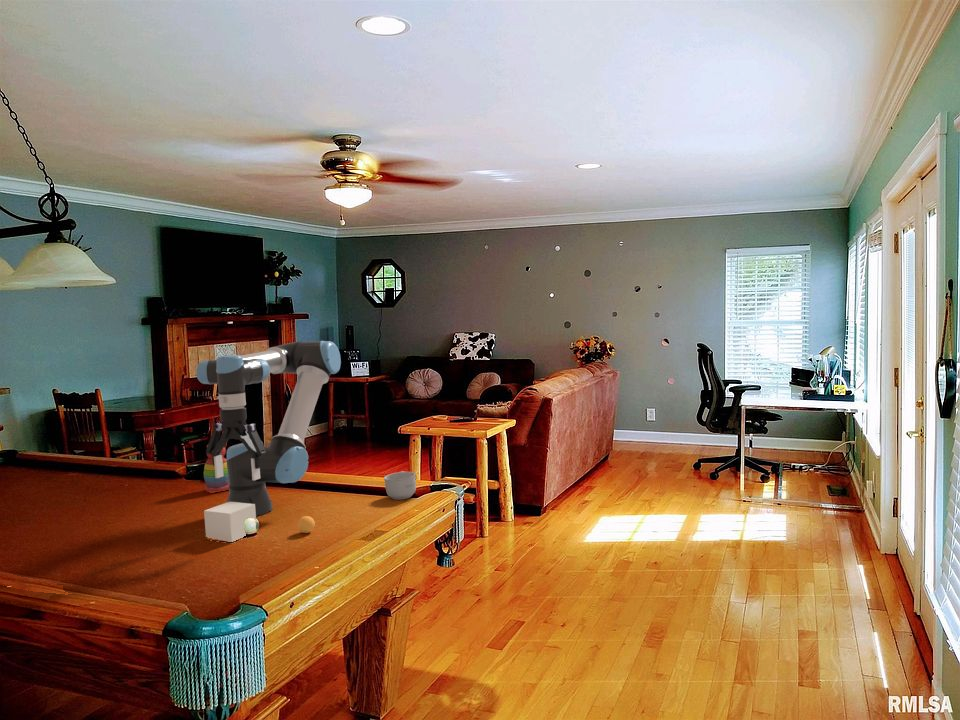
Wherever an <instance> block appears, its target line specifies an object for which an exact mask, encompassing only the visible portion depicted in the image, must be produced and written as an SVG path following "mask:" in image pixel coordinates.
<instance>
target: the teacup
mask: <svg viewBox="0 0 960 720" xmlns="http://www.w3.org/2000/svg"><path fill="white" fill-rule="evenodd" d="M383 480H384V486H385V490H386V491H385V492H386V494H387V496H388V497H390V498H391V499H393V500H397V501H398V500H399V501H402V500H405V499H406V500H407V499H410V498H411V497H412V496H413V495H414V494H415V493H416V490H417V482H416V481H417V480H416V473H415V472H413V471H403V470H402V471H399V472H392V473H390V474H387V475H385V476H384V477H383Z"/></svg>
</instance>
